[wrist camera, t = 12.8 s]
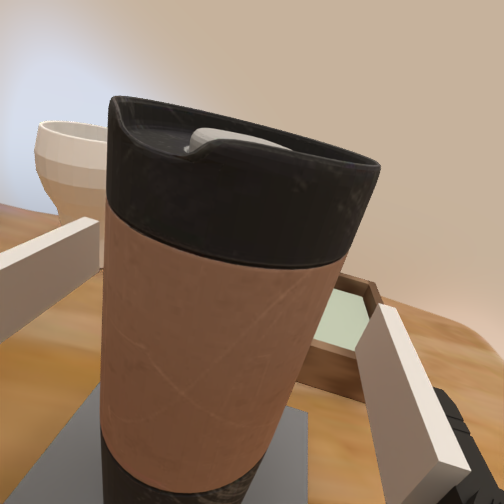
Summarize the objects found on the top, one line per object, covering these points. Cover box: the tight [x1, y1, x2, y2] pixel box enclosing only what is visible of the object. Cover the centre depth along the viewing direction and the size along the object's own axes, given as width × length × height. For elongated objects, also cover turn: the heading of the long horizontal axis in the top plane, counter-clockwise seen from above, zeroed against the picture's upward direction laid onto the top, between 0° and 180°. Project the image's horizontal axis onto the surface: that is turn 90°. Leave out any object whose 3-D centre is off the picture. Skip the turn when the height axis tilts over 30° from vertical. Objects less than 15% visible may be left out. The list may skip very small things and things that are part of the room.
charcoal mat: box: [3, 382, 308, 504], centre depth 17 cm, size 16×16×1 cm
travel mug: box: [100, 96, 381, 504], centre depth 13 cm, size 8×8×20 cm
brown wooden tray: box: [296, 273, 384, 403], centre depth 34 cm, size 22×16×4 cm
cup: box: [34, 121, 108, 268], centre depth 35 cm, size 11×11×15 cm
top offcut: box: [313, 289, 369, 351], centre depth 33 cm, size 8×11×1 cm
